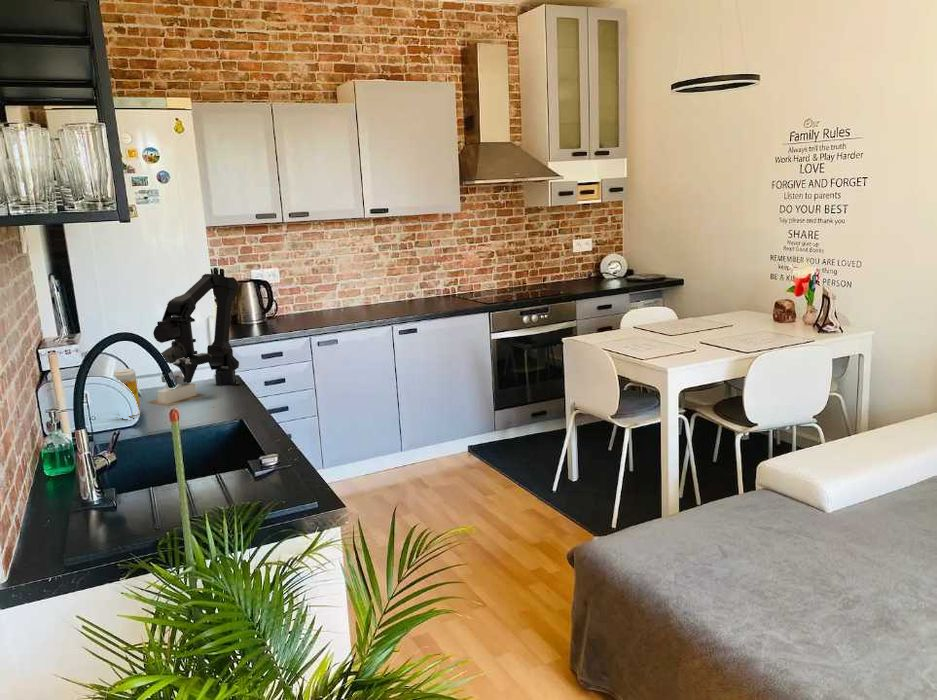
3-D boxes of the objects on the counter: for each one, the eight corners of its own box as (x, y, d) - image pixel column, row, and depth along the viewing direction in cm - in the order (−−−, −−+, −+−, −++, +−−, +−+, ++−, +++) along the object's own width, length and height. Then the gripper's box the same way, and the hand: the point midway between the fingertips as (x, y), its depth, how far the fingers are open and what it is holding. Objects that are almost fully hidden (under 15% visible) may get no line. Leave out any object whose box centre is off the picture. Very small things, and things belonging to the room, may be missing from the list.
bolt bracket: (181, 392, 256) (178, 371, 255) (184, 392, 256) (182, 371, 254) (167, 396, 251) (164, 375, 250) (170, 396, 251) (168, 375, 249)
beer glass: (119, 421, 227) (112, 373, 224) (120, 416, 232) (113, 369, 230) (140, 418, 229) (134, 371, 226) (141, 413, 235) (135, 367, 232)
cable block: (188, 394, 253) (187, 382, 253) (196, 395, 251) (195, 383, 251) (158, 402, 243) (157, 391, 242) (167, 404, 241) (165, 392, 240)
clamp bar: (167, 380, 256) (167, 374, 256) (189, 383, 251) (189, 377, 250) (162, 382, 254) (161, 376, 254) (183, 384, 249) (183, 378, 248)
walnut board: (182, 394, 257) (182, 391, 257) (206, 397, 251) (206, 394, 251) (145, 405, 244) (144, 402, 244) (169, 409, 239) (169, 406, 238)
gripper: (144, 340, 244) (150, 386, 247) (183, 342, 235) (189, 390, 238) (171, 334, 253) (177, 378, 256) (210, 336, 244) (215, 382, 247)
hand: (189, 382), depth 249 cm, fingers closed
